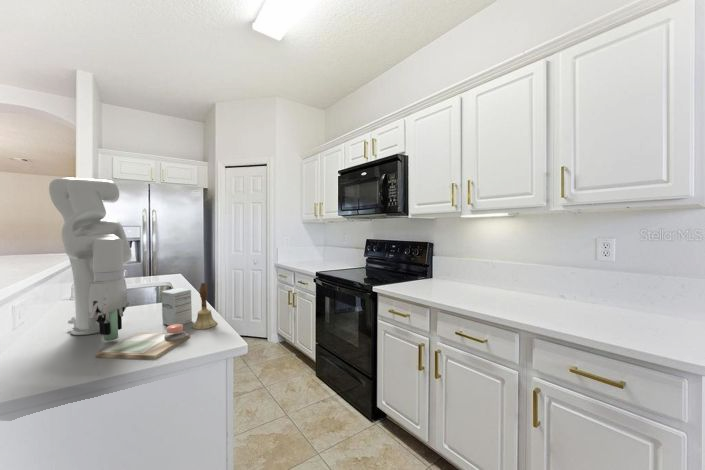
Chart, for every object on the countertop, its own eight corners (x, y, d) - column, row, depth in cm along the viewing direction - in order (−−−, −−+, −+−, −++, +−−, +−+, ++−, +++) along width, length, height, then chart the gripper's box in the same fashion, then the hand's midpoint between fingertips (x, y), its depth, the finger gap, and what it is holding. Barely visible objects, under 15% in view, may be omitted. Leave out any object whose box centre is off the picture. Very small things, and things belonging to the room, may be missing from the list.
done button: (163, 333, 97) (163, 328, 97) (172, 328, 102) (172, 323, 102) (177, 333, 97) (177, 329, 97) (186, 328, 101) (186, 324, 101)
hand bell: (187, 328, 110) (185, 285, 109) (202, 321, 118) (200, 280, 117) (207, 330, 109) (206, 285, 108) (221, 322, 117) (220, 281, 116)
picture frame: (96, 357, 88) (95, 350, 88) (138, 335, 104) (138, 329, 103) (155, 358, 86) (155, 352, 86) (189, 336, 102) (189, 331, 102)
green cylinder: (100, 340, 97) (99, 305, 96) (110, 335, 101) (109, 302, 100) (111, 341, 97) (110, 306, 96) (121, 336, 100) (120, 302, 99)
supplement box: (161, 324, 115) (160, 291, 114) (180, 318, 121) (179, 287, 120) (173, 327, 111) (172, 293, 110) (192, 321, 118) (191, 289, 117)
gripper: (119, 270, 105) (121, 321, 107) (72, 281, 89) (75, 342, 90) (140, 271, 105) (141, 323, 106) (96, 282, 88) (98, 343, 90)
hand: (111, 331), depth 98 cm, fingers closed on green cylinder, 3 cm apart
